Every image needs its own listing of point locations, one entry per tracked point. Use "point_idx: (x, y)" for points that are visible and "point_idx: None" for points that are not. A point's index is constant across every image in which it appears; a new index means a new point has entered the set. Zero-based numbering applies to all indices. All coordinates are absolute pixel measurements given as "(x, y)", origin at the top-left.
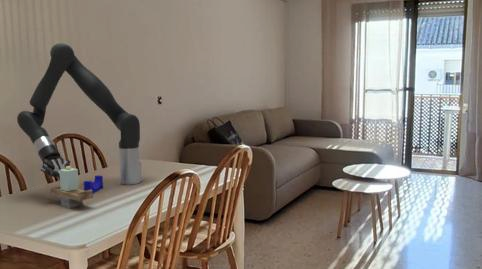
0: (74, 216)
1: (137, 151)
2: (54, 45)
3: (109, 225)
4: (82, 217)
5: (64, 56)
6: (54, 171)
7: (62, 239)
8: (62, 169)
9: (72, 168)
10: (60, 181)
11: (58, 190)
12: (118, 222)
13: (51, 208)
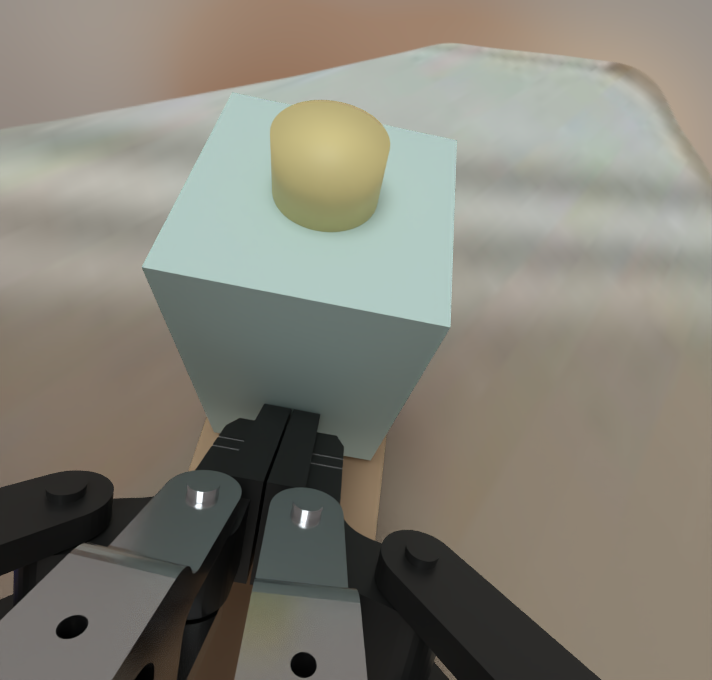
0: (466, 244)
1: None
2: None
3: (454, 82)
4: None
5: None
6: (430, 561)
7: (645, 131)
8: (381, 297)
9: (207, 188)
10: (391, 416)
11: (374, 498)
12: (410, 72)
13: (452, 504)
